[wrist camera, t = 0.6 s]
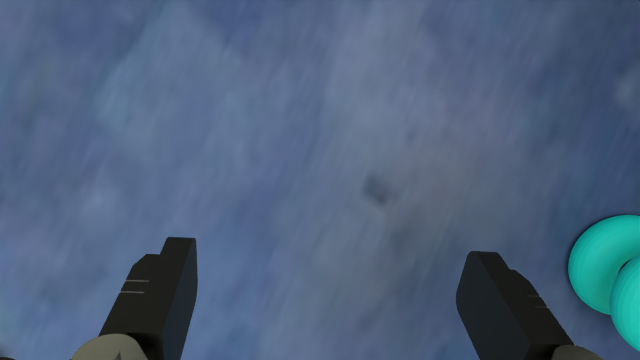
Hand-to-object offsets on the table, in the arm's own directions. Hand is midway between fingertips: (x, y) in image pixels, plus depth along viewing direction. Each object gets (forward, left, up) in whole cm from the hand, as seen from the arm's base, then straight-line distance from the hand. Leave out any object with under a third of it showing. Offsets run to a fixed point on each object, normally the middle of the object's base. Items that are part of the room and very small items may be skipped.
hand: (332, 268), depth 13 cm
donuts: (+2, +29, -31) cm, 43 cm away
